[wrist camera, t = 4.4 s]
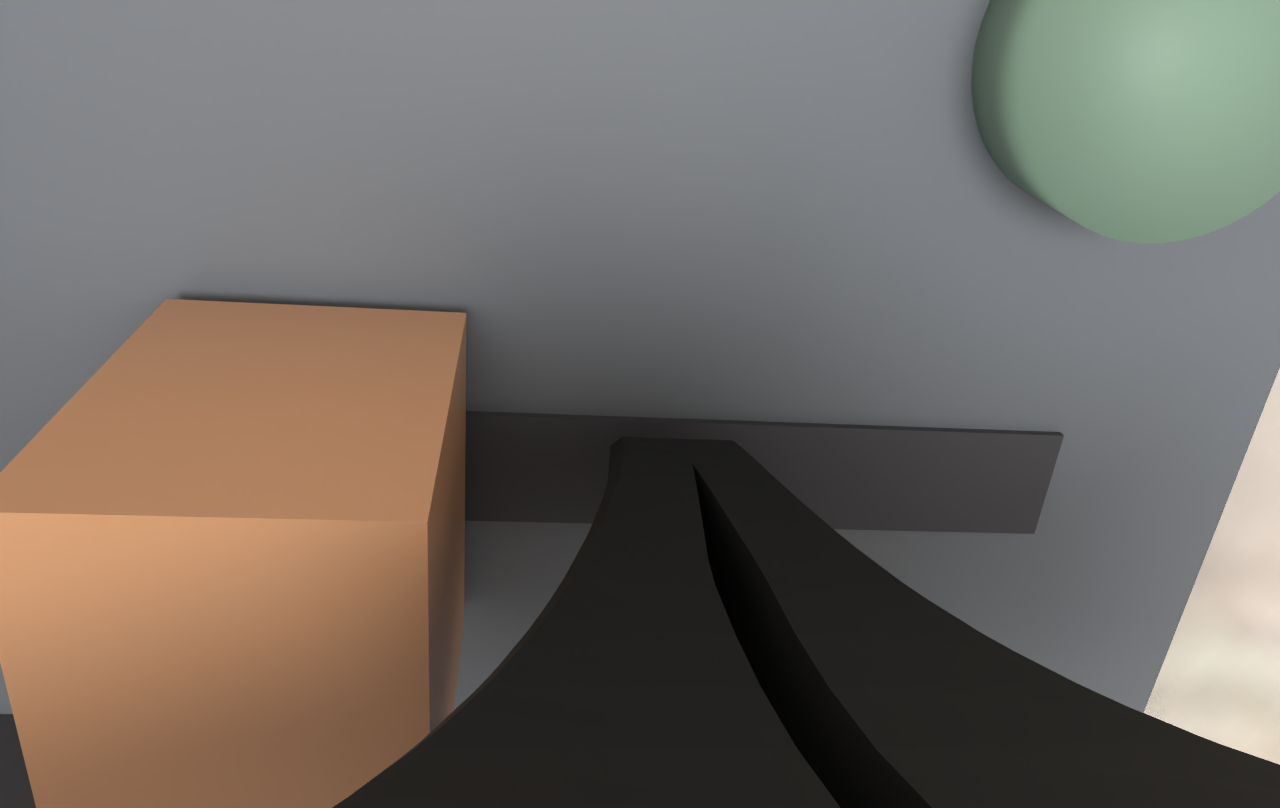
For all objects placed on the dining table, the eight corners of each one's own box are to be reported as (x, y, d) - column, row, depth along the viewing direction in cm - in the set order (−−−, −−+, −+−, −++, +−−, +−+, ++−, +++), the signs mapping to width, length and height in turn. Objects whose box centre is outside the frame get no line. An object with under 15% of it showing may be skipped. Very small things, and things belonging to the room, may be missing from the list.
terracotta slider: (464, 619, 12) (431, 913, 9) (207, 617, 12) (63, 921, 8) (465, 313, 11) (427, 522, 7) (166, 298, 10) (-37, 512, 7)
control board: (990, 932, 19) (1070, 1118, 16) (-194, 961, 16) (-350, 1184, 14) (1383, -185, 11) (1685, -218, 8) (-784, -431, 9) (-1453, -600, 6)
